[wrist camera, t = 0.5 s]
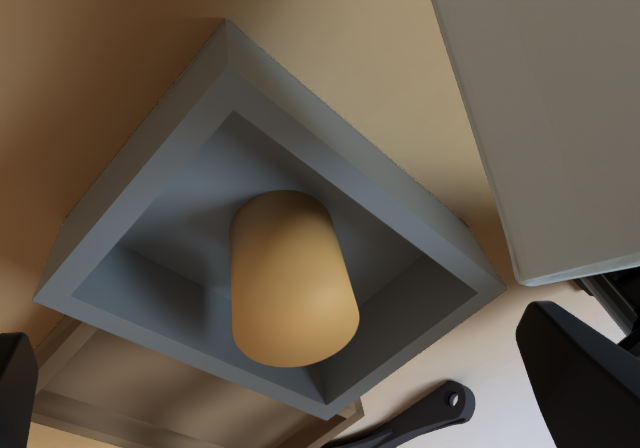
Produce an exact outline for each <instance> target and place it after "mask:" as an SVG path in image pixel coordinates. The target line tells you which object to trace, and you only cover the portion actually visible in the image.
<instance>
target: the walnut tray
mask: <svg viewBox="0 0 640 448" xmlns="http://www.w3.org/2000/svg"><path fill="white" fill-rule="evenodd" d="M34 355H35V357H36V360H37V363H38V370H39V373H38V382H37V388H36V394H35V399H34V405H33V411H32V417H31V422H34V423H38V424H41V425H45V426H48V427H52V428H55V429H59V430H62V431H66V432H69V433H73V434H76V435H80V436H83V437H87V438H90V439H94V440H97V441H101V442H104V443H108V444H111V445H115V446H118V447H122V448H320V447H321V446H323V445H324V444H325V443H327V442H328V441H330V440H331V439H333V438H334V437H335V436H337V435H338V434H340V433H341V432H342V431H344V430H345V429H347V428H348V427H349V426H351V425H352V424H354V423H355V422H357V421H358V420H359V419H361V418H362V417H364V416H365V415H364V411H363V407H362V403H361V399H360V397H359V398H358V399H356V400H355V401H353V402H352V403H351V404H349V405H348V406H347V407H345V408H344V409H342V410H341V411H340V412H338V413H337V414H336V415H334V416H333V417H331V418H330V419H329V420H327V421H326V420H324V419H321V418H319V417H316V416H314V415H311V414H309V413H306V412H304V411H302V410H299V409H297V408H294V407H292V406H289V405H287V404H284V403H282V402H279V401H277V400H274V399H272V398H270V397H267V396H265V395H262V394H260V393H257V392H255V391H252V390H250V389H247V388H245V387H243V386H240V385H238V384H235V383H233V382H230V381H228V380H225V379H223V378H220V377H218V376H215V375H213V374H211V373H208V372H206V371H203V370H201V369H198V368H196V367H193V366H191V365H188V364H186V363H183V362H181V361H179V360H176V359H174V358H171V357H169V356H166V355H164V354H161V353H159V352H156V351H154V350H152V349H149V348H147V347H144V346H142V345H139V344H137V343H134V342H132V341H129V340H127V339H124V338H122V337H120V336H117V335H115V334H112V333H110V332H107V331H105V330H102V329H100V328H97V327H95V326H92V325H90V324H88V323H85V322H83V321H80V320H78V319H75V318H73V317H70V316H68V315H66V316H65V317H64V318H63V319H62V320H61V321H60V322H59V324H58V325H57V326H56V327H55V328H54V329H53V330H52V331H51V332H50V334H49V335H48V336H47V337H46V338H45V339H44V340H43V341H42V343H41V344H40V345H39V346H38V347H37V348H36V349H35V350H34Z"/></svg>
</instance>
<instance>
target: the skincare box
mask: <svg viewBox="0 0 640 448" xmlns="http://www.w3.org/2000/svg"><path fill="white" fill-rule="evenodd" d="M431 2H432V5H433V8H434V12H435V15H436V18H437V21H438V24H439V28H440V31H441V34H442V37H443V41H444V44H445V47H446V50H447V53H448V56H449V59H450V62H451V66H452V69H453V72H454V75H455V78H456V81H457V84H458V87H459V90H460V94H461V97H462V100H463V103H464V106H465V109H466V112H467V115H468V119H469V122H470V125H471V128H472V131H473V134H474V138H475V141H476V144H477V147H478V150H479V154H480V157H481V160H482V163H483V166H484V169H485V173H486V176H487V179H488V182H489V185H490V188H491V192H492V195H493V198H494V201H495V204H496V207H497V211H498V214H499V217H500V220H501V224H502V227H503V230H504V234H505V238H506V241H507V245H508V249H509V253H510V257H511V262H512V267H513V272H514V276H515V279H516V281H517V282H518V284H521V285H525V286H538V285H544V284H549V283H554V282H559V281H564V280H570V279H575V278H580V277H586V276H591V275H596V274H602V273H607V272H612V271H617V270H623V269H628V268H633V267H638V266H640V0H431Z"/></svg>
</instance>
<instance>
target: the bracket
mask: <svg viewBox="0 0 640 448" xmlns="http://www.w3.org/2000/svg"><path fill="white" fill-rule="evenodd" d="M457 395H458V401H457V403H456V404H455V406H453V400H454V398H455V397H456V396H457ZM474 410H475V397H474V394H473V392H472V391H471V390H470V389H469V388H468V387H466V386H464V385H462V384H460V383H458V382H455V381H448V382H446V383H445V384H443V385H442V386H440V387H439V388H437V389H436V390H434V391H433V392H431V393H430V394H429V395H427V396H426V397H424V398H423V399H421V400H420V401H418V402H417V403H415V404H414V405H412V406H411V407H410V408H408V409H407V410H405V411H404V412H402V413H401V414H399V415H398V416H396V417H395V418H393V419H392V420H391V421H389V422H388V423H386V424H385V425H383V426H382V427H380V428H379V429H377V430H376V431H374V432H373V433H371V434H370V435H368V436H367V437H365V438H364V439H363V440H360V441H356V442H353V443H350V444H347V445H343V446H338V447H333V448H396V447H397V446H399V445H401V444H403V443H405V442H407V441H409V440H411V439H413V438H415V437H417V436H420V435H422V434H426V433H429V432H432V431H435V430H438V429H442V428H445V427H448V426H452V425H456V424H463V423H466V422H468V421H469V420H470V419H471V417H472V415H473V413H474Z"/></svg>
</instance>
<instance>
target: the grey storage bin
mask: <svg viewBox="0 0 640 448" xmlns="http://www.w3.org/2000/svg"><path fill="white" fill-rule="evenodd" d="M275 190H295V191H300V192H303V193H306V194H308V195H311V196H313V197H314V198H316V199H317V200H319V201H320V202H321V203H322V204H323V205H324V206H325V207H326V209H327V210H328V212H329V214H330V216H331V219H332V223H333V226H334V229H335V233H336V236H337V239H338V243H339V246H340V249H341V253H342V256H343V260H344V263H345V266H346V270H347V273H348V276H349V280H350V283H351V287H352V290H353V293H354V297H355V300H356V303H357V307H358V311H359V324H358V327H357V330H356V332H355V334H354V336H353V337H352V339H351V340H350V341H349V342H348V343H347V345H346V346H344V347H343V348H342V349H341V350H340V351H338V352H337V353H335V354H334V355H332V356H330V357H328V358H326V359H324V360H322V361H319V362H316V363H313V364H309V365H305V366H300V367H274V366H269V365H265V364H261V363H259V362H256V361H254V360H252V359H250V358H249V357H247V356H246V355H245V354H244V353H243V352H242V351H240V349H239V348H238V347H237V345H236V343H235V341H234V338H233V331H232V301H231V270H230V238H229V232H230V226H231V222H232V220H233V218H234V216H235V214H236V213H237V211H238V210H239V209H240V208H241V207H242V206H243V205H244V204H245V203H246V202H248V201H249V200H251V199H252V198H254V197H256V196H258V195H261V194H263V193H266V192H270V191H275ZM506 290H507V288H506V286H505V284H504V283H503V281H502V280H501V278H500V277H499V275H498V273H497V272H496V270H495V269H494V267H493V266H492V264H491V262H490V261H489V259H488V258H487V256H486V255H485V253H484V251H483V250H482V248H481V247H480V245H479V244H478V242H477V240H476V239H475V237H474V236H473V234H472V233H471V231H470V229H469V228H468V226H467V225H466V223H464V222H463V221H462V220H461V219H460V218H458V217H457V216H456V215H455V214H454V213H453V212H451V211H450V210H449V209H448V208H447V207H446V206H444V205H443V204H442V203H441V202H440V201H439V200H437V199H436V198H435V197H434V196H433V195H432V194H430V193H429V192H428V191H427V190H426V189H425V188H423V187H422V186H421V185H420V184H419V183H418V182H416V181H415V180H414V179H413V178H412V177H411V176H409V175H408V174H407V173H406V172H405V171H404V170H402V169H401V168H400V167H399V166H398V165H397V164H395V163H394V162H393V161H392V160H391V159H390V158H388V157H387V156H386V155H385V154H384V153H383V152H381V151H380V150H379V149H378V148H377V147H376V146H374V145H373V144H372V143H371V142H370V141H369V140H367V139H366V138H365V137H364V136H363V135H362V134H360V133H359V132H358V131H357V130H356V129H355V128H353V127H352V126H351V125H350V124H349V123H348V122H346V121H345V120H344V119H343V118H342V117H341V116H339V115H338V114H337V113H336V112H335V111H334V110H332V109H331V108H330V107H329V106H328V105H327V104H325V103H324V102H323V101H322V100H321V99H320V98H318V97H317V96H316V95H315V94H314V93H313V92H311V91H310V90H309V89H308V88H307V87H306V86H304V85H303V84H302V83H301V82H300V81H299V80H297V79H296V78H295V77H294V76H293V75H292V74H290V73H289V72H288V71H287V70H286V69H285V68H283V67H282V66H281V65H280V64H279V63H278V62H276V61H275V60H274V59H273V58H272V57H271V56H269V55H268V54H267V53H266V52H265V51H264V50H262V49H261V48H260V47H259V46H258V45H257V44H255V43H254V42H253V41H252V40H251V39H250V38H248V37H247V36H246V35H245V34H244V33H243V32H241V31H240V30H239V29H238V28H237V27H236V26H234V25H233V24H232V23H231V22H230V21H229V20H227V19H226V18H225V20H224V21H223V22H222V23H221V25H220V26H219V27H218V28H217V30H216V31H215V32H214V33H213V35H212V36H211V37H210V38H209V40H208V41H207V42H206V43H205V45H204V46H203V47H202V48H201V50H200V51H199V52H198V53H197V55H196V56H195V57H194V58H193V60H192V61H191V62H190V63H189V65H188V66H187V67H186V68H185V70H184V71H183V72H182V73H181V75H180V76H179V77H178V78H177V80H176V81H175V82H174V83H173V85H172V86H171V87H170V88H169V90H168V91H167V92H166V93H165V95H164V96H163V97H162V98H161V100H160V101H159V102H158V103H157V105H156V106H155V107H154V108H153V110H152V111H151V112H150V113H149V115H148V116H147V117H146V118H145V120H144V121H143V122H142V123H141V125H140V126H139V127H138V128H137V130H136V131H135V132H134V133H133V135H132V136H131V137H130V138H129V140H128V141H127V142H126V143H125V145H124V146H123V147H122V148H121V150H120V151H119V152H118V153H117V155H116V156H115V157H114V158H113V160H112V161H111V162H110V163H109V165H108V166H107V167H106V169H105V170H104V171H103V172H102V174H101V175H100V176H99V177H98V179H97V180H96V181H95V182H94V184H93V185H92V186H91V187H90V189H89V190H88V191H87V192H86V194H85V195H84V196H83V197H82V199H81V200H80V201H79V202H78V204H77V205H76V206H75V207H74V209H73V210H72V211H71V212H70V214H69V215H68V216H67V217H66V219H65V220H64V221H63V222H62V225H61V227H60V230H59V233H58V235H57V238H56V240H55V243H54V245H53V248H52V250H51V253H50V255H49V258H48V260H47V263H46V265H45V268H44V270H43V273H42V275H41V278H40V280H39V283H38V286H37V288H36V291H35V293H34V296H33V298H32V301H33V302H36V303H38V304H41V305H43V306H46V307H48V308H51V309H53V310H56V311H58V312H60V313H63V314H65V315H68V316H70V317H73V318H75V319H78V320H80V321H83V322H85V323H88V324H90V325H92V326H95V327H97V328H100V329H102V330H105V331H107V332H110V333H112V334H115V335H117V336H120V337H122V338H124V339H127V340H129V341H132V342H134V343H137V344H139V345H142V346H144V347H147V348H149V349H152V350H154V351H156V352H159V353H161V354H164V355H166V356H169V357H171V358H174V359H176V360H179V361H181V362H183V363H186V364H188V365H191V366H193V367H196V368H198V369H201V370H203V371H206V372H208V373H211V374H213V375H215V376H218V377H220V378H223V379H225V380H228V381H230V382H233V383H235V384H238V385H240V386H243V387H245V388H247V389H250V390H252V391H255V392H257V393H260V394H262V395H265V396H267V397H270V398H272V399H274V400H277V401H279V402H282V403H284V404H287V405H289V406H292V407H294V408H297V409H299V410H302V411H304V412H306V413H309V414H311V415H314V416H316V417H319V418H321V419H324V420H326V421H327V420H329V419H330V418H331V417H333V416H334V415H336V414H337V413H338V412H340V411H341V410H342V409H344V408H345V407H347V406H348V405H349V404H351V403H352V402H353V401H355V400H356V399H358V398H359V397H360V396H362V395H363V394H364V393H366V392H367V391H369V390H370V389H371V388H373V387H374V386H375V385H377V384H378V383H380V382H381V381H382V380H384V379H385V378H386V377H388V376H389V375H390V374H392V373H393V372H395V371H396V370H397V369H399V368H400V367H401V366H403V365H404V364H406V363H407V362H408V361H410V360H411V359H412V358H414V357H415V356H417V355H418V354H419V353H421V352H422V351H423V350H425V349H426V348H428V347H429V346H430V345H432V344H433V343H434V342H436V341H437V340H439V339H440V338H441V337H443V336H444V335H445V334H447V333H448V332H450V331H451V330H452V329H454V328H455V327H456V326H458V325H459V324H461V323H462V322H463V321H465V320H466V319H467V318H469V317H470V316H471V315H473V314H474V313H476V312H477V311H478V310H480V309H481V308H482V307H484V306H485V305H487V304H488V303H489V302H491V301H492V300H493V299H495V298H496V297H498V296H499V295H500V294H502V293H503V292H504V291H506Z"/></svg>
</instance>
